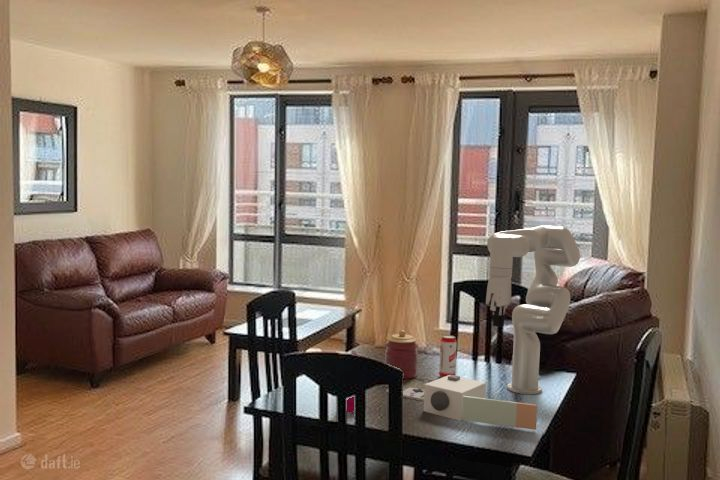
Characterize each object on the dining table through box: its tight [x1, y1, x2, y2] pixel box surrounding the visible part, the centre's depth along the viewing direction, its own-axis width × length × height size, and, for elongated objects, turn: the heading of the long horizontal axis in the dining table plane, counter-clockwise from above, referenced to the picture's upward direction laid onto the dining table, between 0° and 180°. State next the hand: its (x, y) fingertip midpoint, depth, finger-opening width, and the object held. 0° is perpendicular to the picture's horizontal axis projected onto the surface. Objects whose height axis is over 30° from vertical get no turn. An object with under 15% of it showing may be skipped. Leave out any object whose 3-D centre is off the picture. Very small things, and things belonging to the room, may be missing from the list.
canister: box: [384, 329, 420, 380], centre depth 273 cm, size 13×13×18 cm
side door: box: [462, 396, 538, 431], centre depth 216 cm, size 22×1×8 cm, turn 72°
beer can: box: [438, 334, 457, 378], centre depth 272 cm, size 6×6×16 cm
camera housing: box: [423, 374, 487, 422], centre depth 230 cm, size 18×14×10 cm
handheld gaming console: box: [402, 387, 424, 402], centre depth 246 cm, size 10×2×15 cm
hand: (498, 326), depth 237 cm, fingers closed
